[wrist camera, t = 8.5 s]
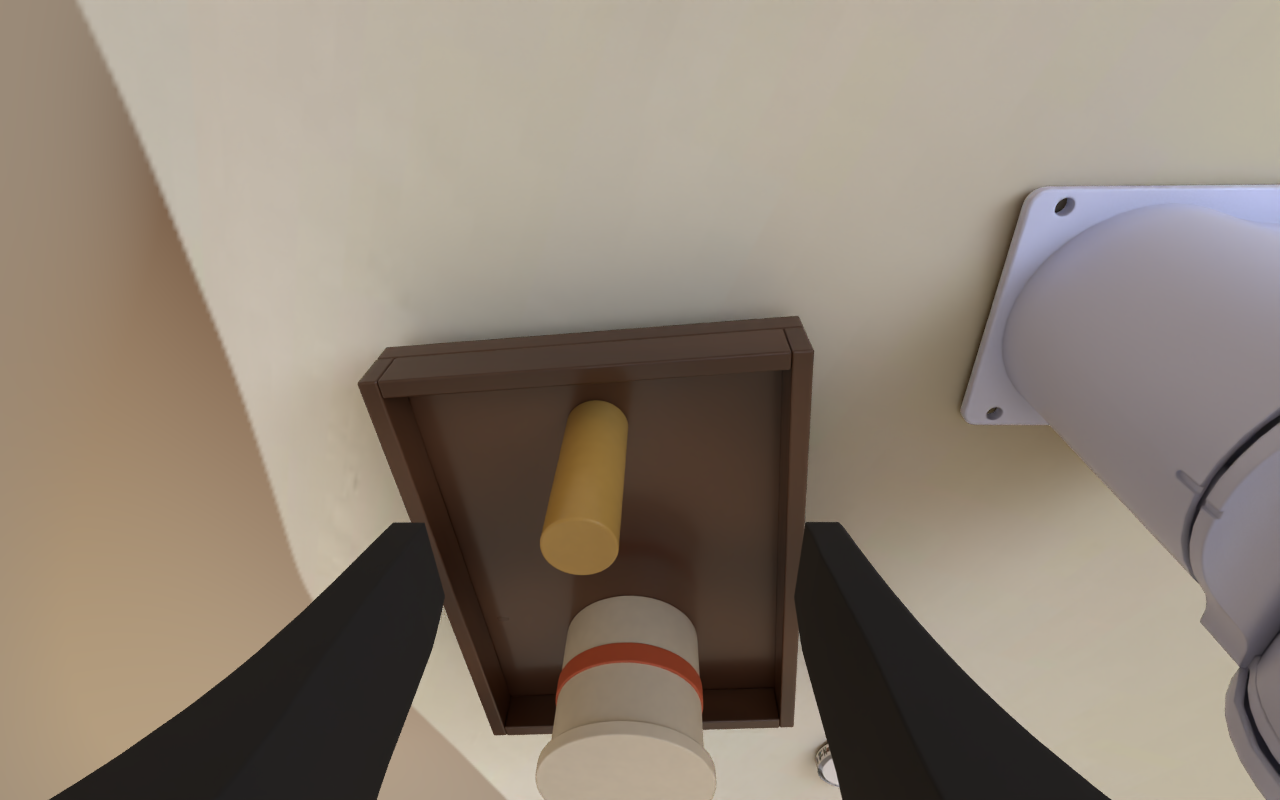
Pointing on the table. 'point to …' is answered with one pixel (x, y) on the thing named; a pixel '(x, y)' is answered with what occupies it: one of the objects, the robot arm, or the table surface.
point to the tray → (668, 499)
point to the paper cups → (628, 708)
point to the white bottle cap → (826, 766)
